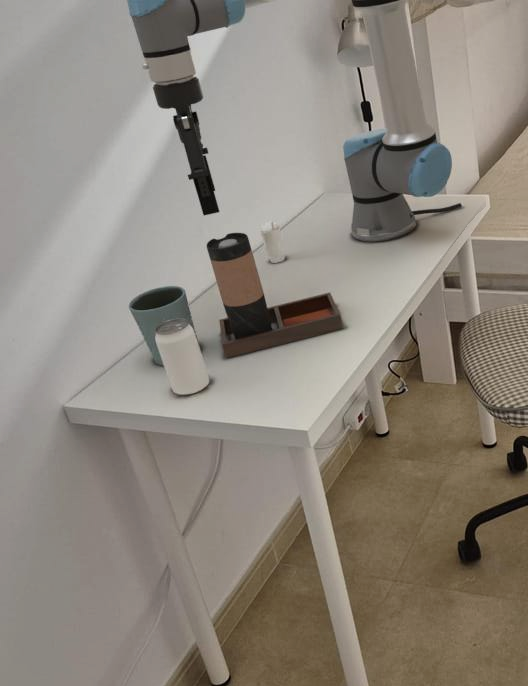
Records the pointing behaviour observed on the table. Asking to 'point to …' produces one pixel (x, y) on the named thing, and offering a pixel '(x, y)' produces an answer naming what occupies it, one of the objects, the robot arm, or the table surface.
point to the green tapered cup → (159, 313)
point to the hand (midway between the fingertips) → (209, 202)
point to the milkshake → (272, 241)
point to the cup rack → (287, 325)
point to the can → (181, 356)
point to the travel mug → (239, 285)
